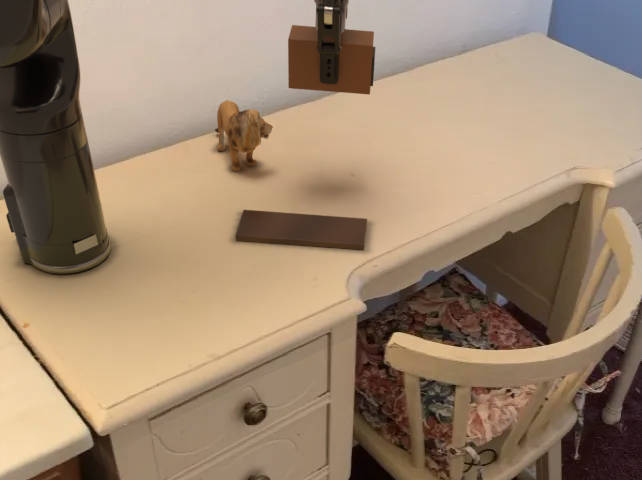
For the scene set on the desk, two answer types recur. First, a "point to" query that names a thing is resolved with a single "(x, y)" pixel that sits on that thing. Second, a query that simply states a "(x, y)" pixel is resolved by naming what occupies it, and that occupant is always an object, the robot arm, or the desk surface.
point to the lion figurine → (240, 131)
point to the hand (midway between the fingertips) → (330, 73)
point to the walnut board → (302, 229)
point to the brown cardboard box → (352, 61)
